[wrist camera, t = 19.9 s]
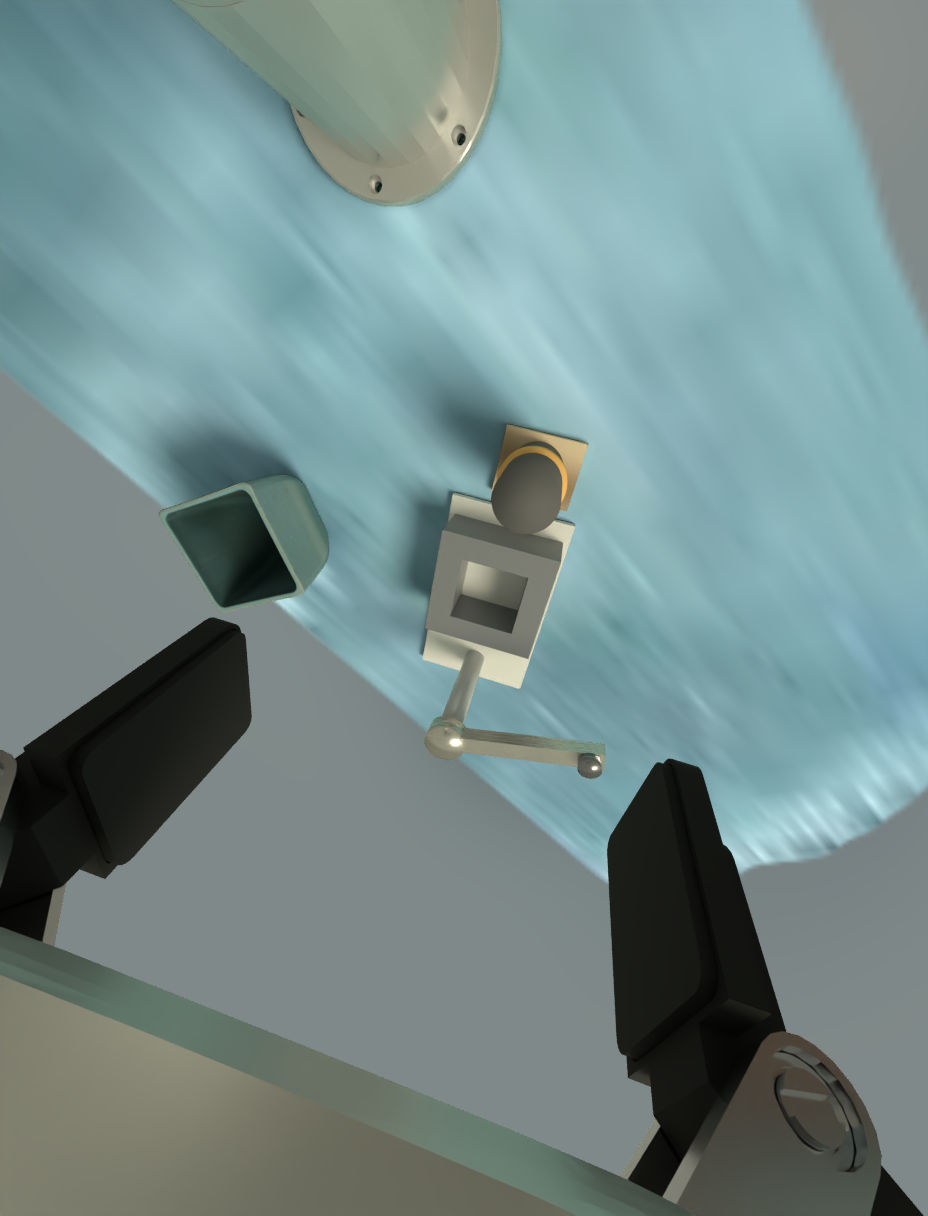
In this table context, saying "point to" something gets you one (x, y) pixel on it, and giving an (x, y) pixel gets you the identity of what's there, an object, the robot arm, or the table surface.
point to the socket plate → (489, 597)
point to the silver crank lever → (512, 746)
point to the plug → (530, 488)
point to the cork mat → (566, 447)
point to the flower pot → (251, 541)
